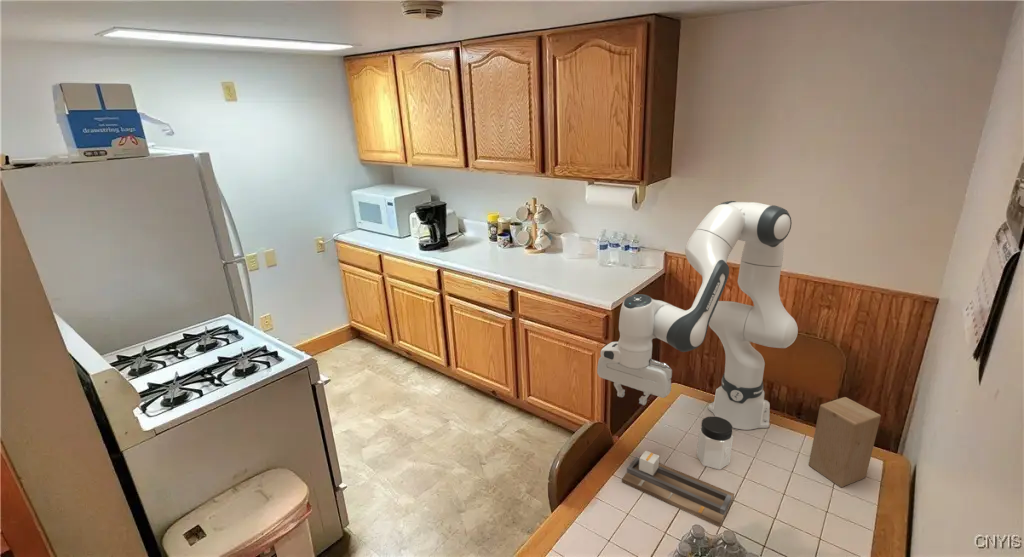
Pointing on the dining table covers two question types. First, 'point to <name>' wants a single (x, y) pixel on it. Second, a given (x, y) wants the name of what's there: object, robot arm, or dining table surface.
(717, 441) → the jar
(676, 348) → the robot arm
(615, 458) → the dining table surface
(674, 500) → the slider track
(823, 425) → the wooden block
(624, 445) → the dining table surface
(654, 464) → the fader knob
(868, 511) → the dining table surface
